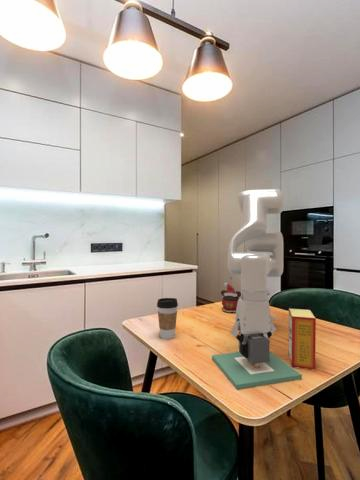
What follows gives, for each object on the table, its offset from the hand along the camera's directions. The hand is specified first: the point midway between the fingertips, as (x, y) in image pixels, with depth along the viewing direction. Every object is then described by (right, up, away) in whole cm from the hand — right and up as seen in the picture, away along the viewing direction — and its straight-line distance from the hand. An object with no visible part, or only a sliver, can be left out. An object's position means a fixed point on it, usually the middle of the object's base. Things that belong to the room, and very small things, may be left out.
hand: (253, 354), depth 82 cm
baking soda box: (+16, -4, +5) cm, 18 cm away
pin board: (0, -4, 0) cm, 4 cm away
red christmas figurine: (+5, -3, +61) cm, 62 cm away
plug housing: (0, -1, 0) cm, 1 cm away
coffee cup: (-27, -4, +26) cm, 38 cm away
